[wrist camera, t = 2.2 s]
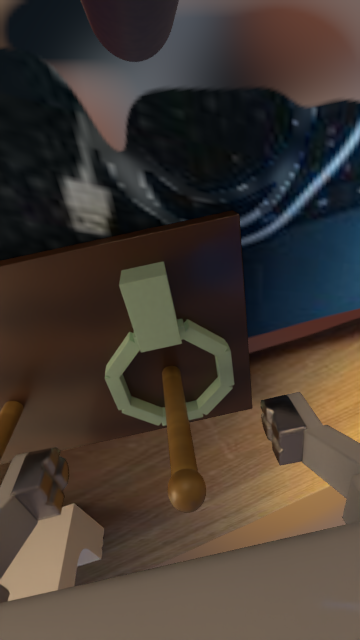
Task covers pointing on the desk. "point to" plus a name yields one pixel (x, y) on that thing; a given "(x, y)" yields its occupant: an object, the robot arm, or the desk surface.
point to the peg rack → (119, 342)
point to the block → (54, 554)
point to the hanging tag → (161, 343)
